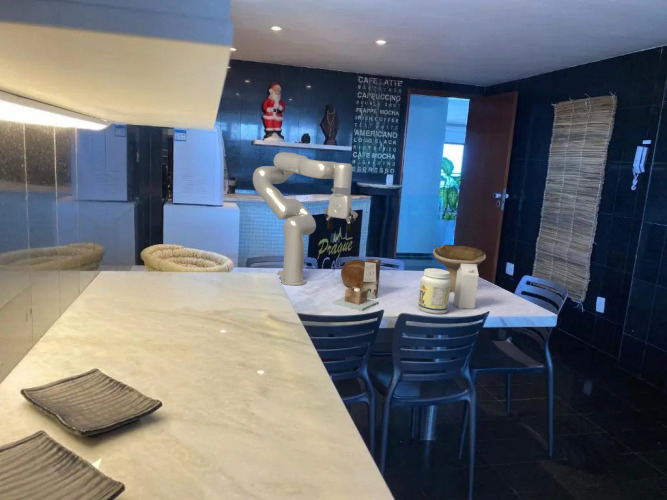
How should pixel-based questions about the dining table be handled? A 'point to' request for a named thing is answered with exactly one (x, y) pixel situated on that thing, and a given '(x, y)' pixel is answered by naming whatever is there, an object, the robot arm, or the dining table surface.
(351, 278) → the bread
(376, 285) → the coffee box
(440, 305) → the supplement tub
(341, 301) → the post plate
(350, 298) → the collar
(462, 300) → the milk carton
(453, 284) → the bowl
